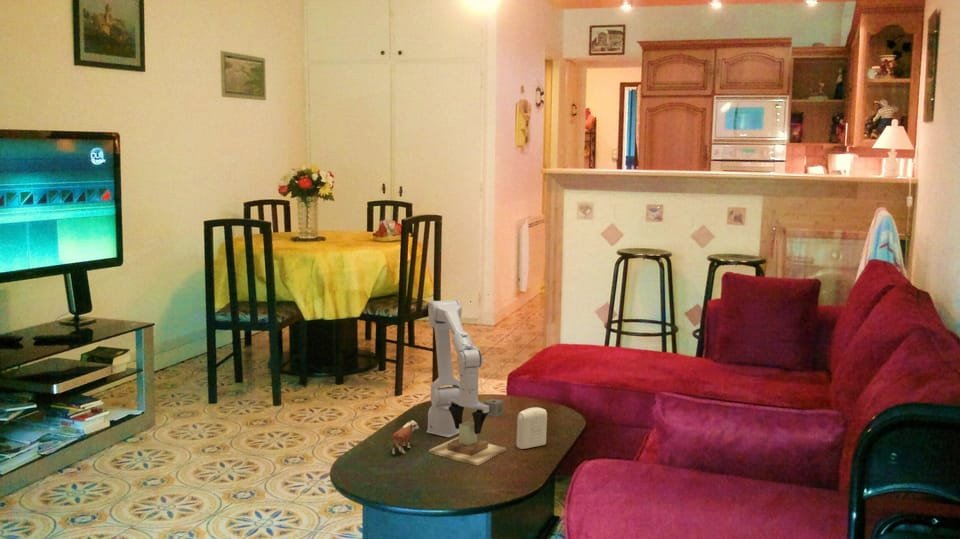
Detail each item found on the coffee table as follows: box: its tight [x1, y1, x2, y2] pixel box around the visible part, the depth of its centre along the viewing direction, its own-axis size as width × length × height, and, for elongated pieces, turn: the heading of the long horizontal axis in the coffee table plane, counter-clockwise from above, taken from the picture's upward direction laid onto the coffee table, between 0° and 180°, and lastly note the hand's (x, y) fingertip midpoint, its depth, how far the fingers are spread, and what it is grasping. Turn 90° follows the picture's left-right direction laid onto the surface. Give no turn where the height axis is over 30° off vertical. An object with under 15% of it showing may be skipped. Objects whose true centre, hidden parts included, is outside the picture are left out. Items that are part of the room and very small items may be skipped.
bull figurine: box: [391, 419, 420, 455], centre depth 269 cm, size 4×13×8 cm, turn 155°
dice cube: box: [483, 398, 505, 418], centre depth 308 cm, size 5×5×5 cm
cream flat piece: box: [428, 436, 507, 466], centre depth 269 cm, size 18×16×3 cm
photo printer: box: [515, 407, 548, 450], centre depth 275 cm, size 10×4×12 cm, turn 123°
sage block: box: [458, 420, 478, 446], centre depth 268 cm, size 4×4×6 cm
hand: (467, 430), depth 268 cm, fingers open, 7 cm apart
